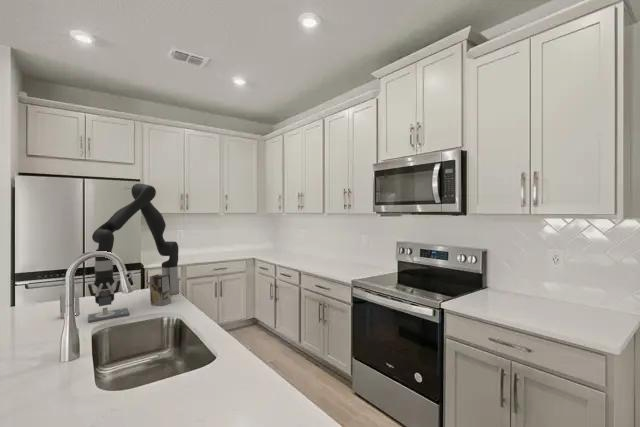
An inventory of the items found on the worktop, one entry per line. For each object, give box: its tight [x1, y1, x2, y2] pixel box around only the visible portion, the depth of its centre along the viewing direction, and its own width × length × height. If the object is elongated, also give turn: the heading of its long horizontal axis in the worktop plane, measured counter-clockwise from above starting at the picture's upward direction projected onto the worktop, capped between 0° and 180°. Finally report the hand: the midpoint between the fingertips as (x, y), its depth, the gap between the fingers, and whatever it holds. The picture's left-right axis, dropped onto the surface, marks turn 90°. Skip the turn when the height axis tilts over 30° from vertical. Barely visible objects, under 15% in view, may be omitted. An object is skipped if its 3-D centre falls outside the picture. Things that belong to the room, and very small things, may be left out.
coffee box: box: [149, 274, 172, 307], centre depth 182 cm, size 9×6×16 cm
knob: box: [98, 289, 112, 307], centre depth 161 cm, size 5×5×7 cm
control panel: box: [87, 307, 130, 324], centre depth 162 cm, size 17×11×4 cm, turn 126°
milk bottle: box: [59, 277, 81, 319], centre depth 163 cm, size 8×8×20 cm
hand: (105, 302), depth 161 cm, fingers closed on knob, 5 cm apart
